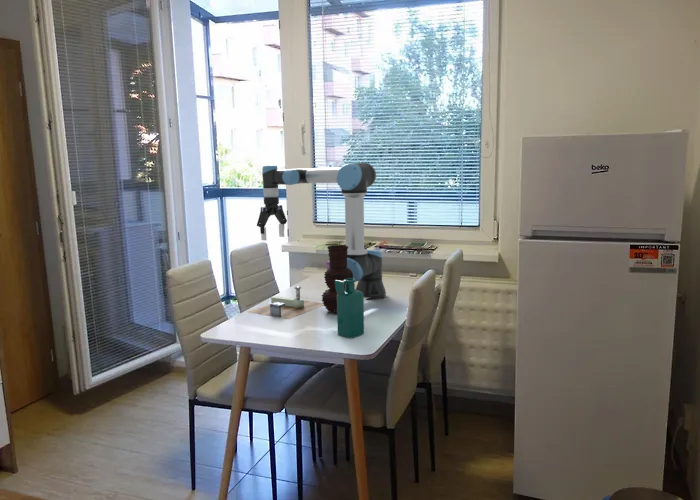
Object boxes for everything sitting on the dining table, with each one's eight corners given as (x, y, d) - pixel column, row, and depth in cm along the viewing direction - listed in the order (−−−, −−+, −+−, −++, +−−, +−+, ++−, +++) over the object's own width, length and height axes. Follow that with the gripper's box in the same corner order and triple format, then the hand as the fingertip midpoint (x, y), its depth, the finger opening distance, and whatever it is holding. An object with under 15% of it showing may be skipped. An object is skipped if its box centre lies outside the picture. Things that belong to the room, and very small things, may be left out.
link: (306, 306, 252) (306, 299, 251) (299, 308, 247) (299, 302, 247) (276, 301, 261) (276, 295, 260) (269, 304, 256) (269, 297, 256)
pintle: (302, 299, 251) (302, 286, 250) (298, 300, 248) (298, 287, 248) (297, 298, 252) (297, 285, 251) (293, 299, 250) (293, 287, 249)
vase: (314, 315, 242) (312, 247, 237) (337, 307, 254) (336, 242, 249) (341, 321, 232) (339, 250, 228) (364, 313, 244) (363, 245, 239)
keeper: (285, 314, 239) (285, 303, 238) (279, 316, 236) (279, 305, 235) (276, 313, 242) (275, 301, 241) (270, 315, 238) (269, 304, 238)
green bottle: (351, 329, 221) (350, 275, 218) (366, 334, 215) (365, 278, 211) (332, 335, 215) (331, 279, 211) (347, 340, 208) (346, 282, 205)
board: (327, 306, 256) (327, 303, 256) (289, 322, 233) (289, 319, 233) (287, 300, 268) (287, 297, 268) (247, 315, 245) (247, 312, 245)
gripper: (281, 194, 292) (283, 234, 296) (248, 198, 272) (250, 241, 275) (292, 194, 288) (294, 235, 292) (259, 198, 268) (261, 242, 271)
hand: (273, 238), depth 283 cm, fingers open, 13 cm apart
